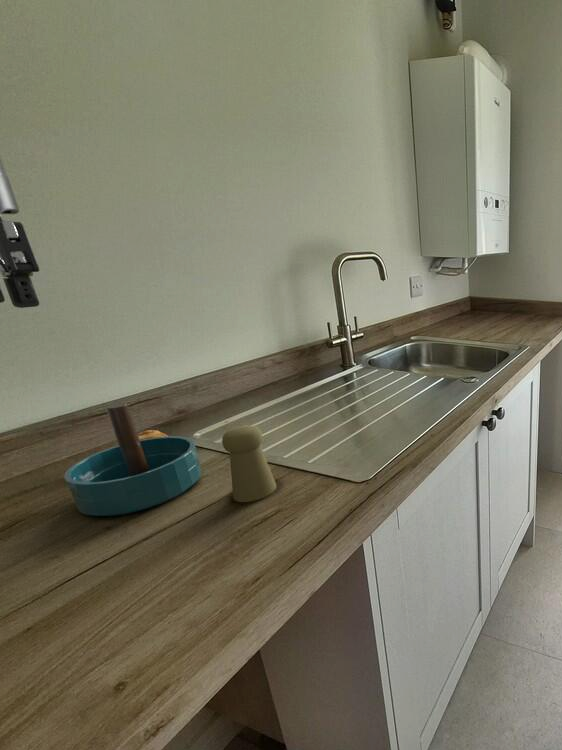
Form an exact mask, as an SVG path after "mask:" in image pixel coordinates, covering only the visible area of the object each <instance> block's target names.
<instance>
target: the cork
mask: <svg viewBox="0 0 562 750" xmlns="http://www.w3.org/2000/svg"><path fill="white" fill-rule="evenodd" d="M263 440H264V439H263V433H262V431H261V429H260V428H258V426H255V425H251V424H246V425H239V426H236V427H233V428H230V429H228V430H227V431H226V432H225V433H224V434H223V435H222V439H221V443H222V447H223V448H224V450H225V451H226V452H228V454H229V463H230V474H231V486H232V498H233V500H234V501H235V502H238V503H250V502H255V501H259V500H261V499H263V498H267V497H268V496H270V495H271V494H273V493H274V491H276V489H277V483H276V480H275V478H274V476H273V475H274V474H273V473H272V470H271V469H270V465H269V463H268V461H267V458H266V455H265V453H264V451H263V448H262V446H261V445H262V443H263Z"/></svg>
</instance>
